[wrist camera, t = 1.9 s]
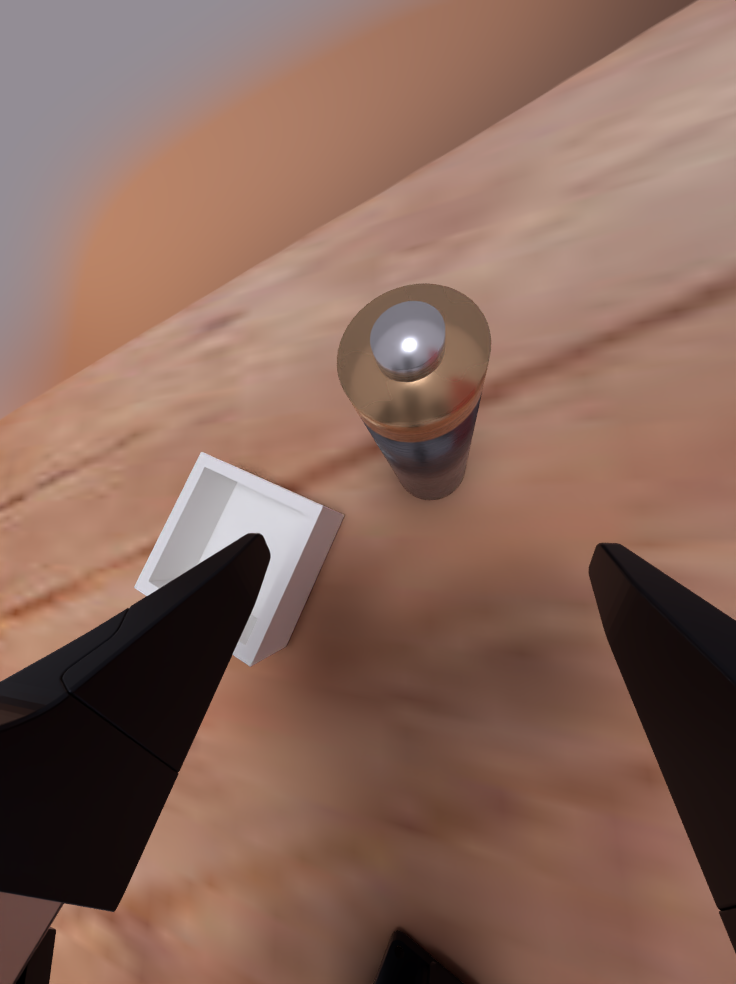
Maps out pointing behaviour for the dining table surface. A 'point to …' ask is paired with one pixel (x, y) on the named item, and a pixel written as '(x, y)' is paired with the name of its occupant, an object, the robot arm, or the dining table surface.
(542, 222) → the dining table surface
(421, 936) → the dining table surface
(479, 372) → the battery cell
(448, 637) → the dining table surface
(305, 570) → the bin
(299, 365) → the dining table surface
